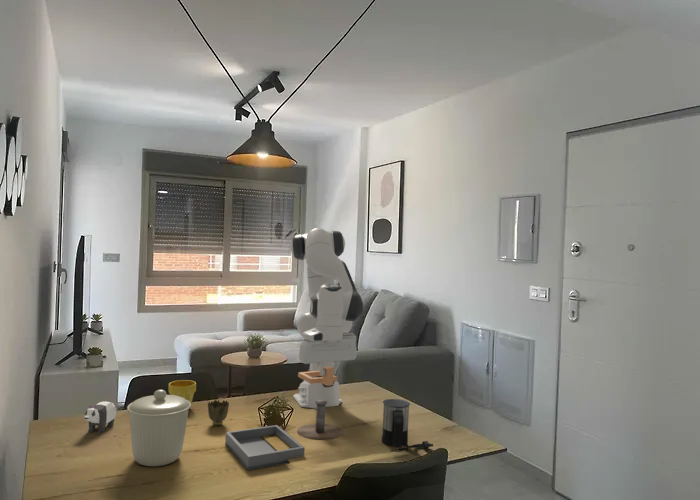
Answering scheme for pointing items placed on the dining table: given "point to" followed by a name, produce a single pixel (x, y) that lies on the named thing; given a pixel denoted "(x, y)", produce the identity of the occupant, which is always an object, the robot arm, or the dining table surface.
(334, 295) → the robot arm
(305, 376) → the tabbed ring
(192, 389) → the plant pot
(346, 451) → the dining table surface
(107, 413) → the giant panda
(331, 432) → the stand
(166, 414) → the canister
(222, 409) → the cup
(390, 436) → the milk frother
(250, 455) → the tray
